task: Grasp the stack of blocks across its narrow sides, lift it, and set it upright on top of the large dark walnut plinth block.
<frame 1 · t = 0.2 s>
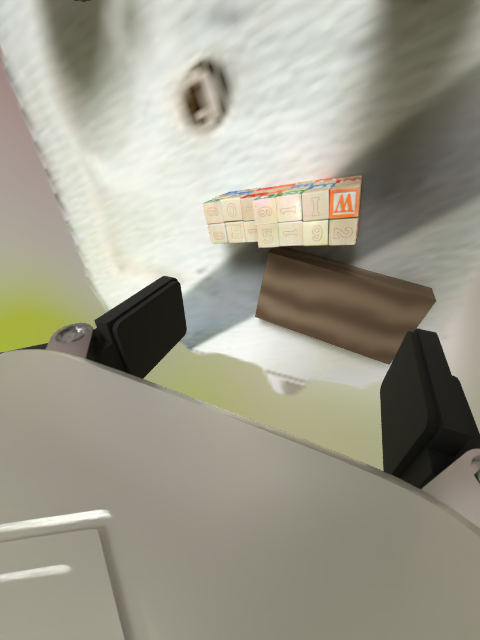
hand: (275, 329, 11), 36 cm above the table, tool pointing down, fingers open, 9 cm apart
plinth: (333, 299, 47), on the table
stack of blocks: (289, 204, 42), on the table
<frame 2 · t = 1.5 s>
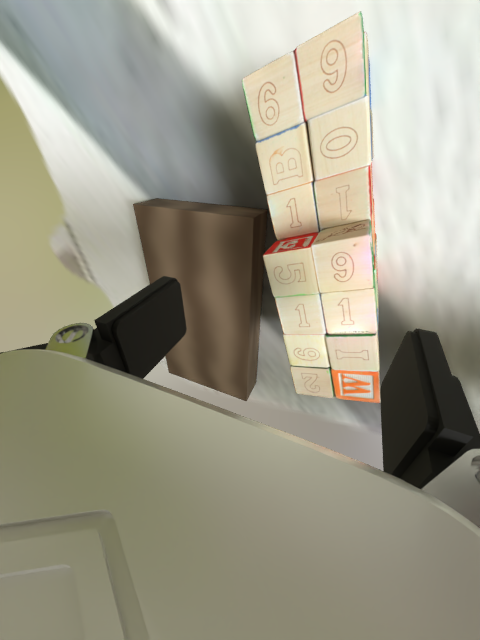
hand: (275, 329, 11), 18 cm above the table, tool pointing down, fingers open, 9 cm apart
plinth: (213, 303, 36), on the table
stack of blocks: (338, 222, 24), on the table
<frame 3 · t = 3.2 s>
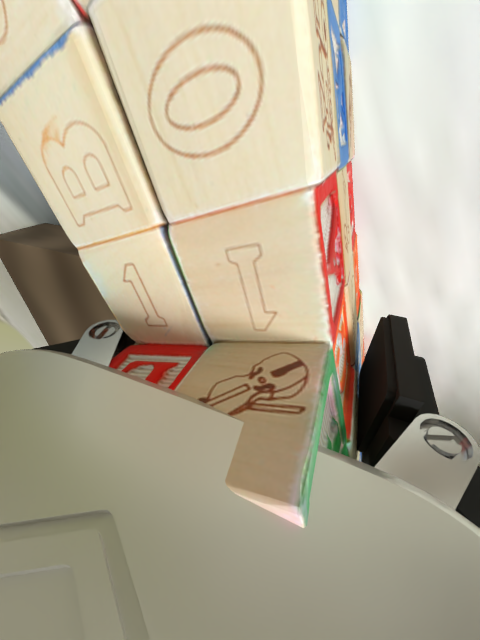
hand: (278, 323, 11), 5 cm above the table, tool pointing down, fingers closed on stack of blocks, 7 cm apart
plinth: (147, 363, 26), on the table
stack of blocks: (299, 266, 14), on the table, touching gripper
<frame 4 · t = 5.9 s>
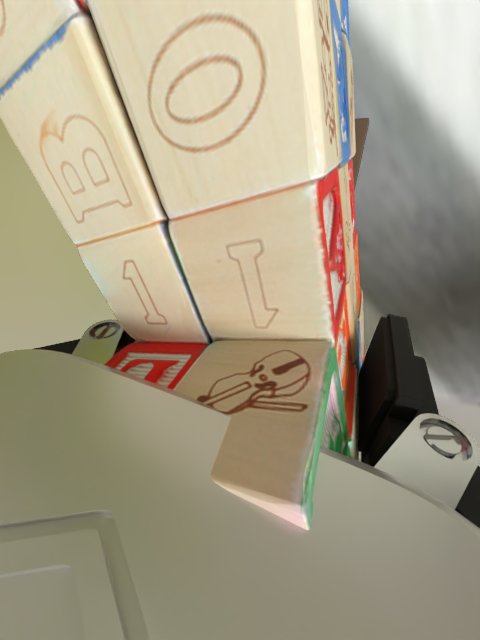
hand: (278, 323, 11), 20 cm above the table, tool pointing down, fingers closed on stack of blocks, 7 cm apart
plinth: (278, 258, 31), on the table
stack of blocks: (299, 265, 14), point 16 cm above the table, touching gripper
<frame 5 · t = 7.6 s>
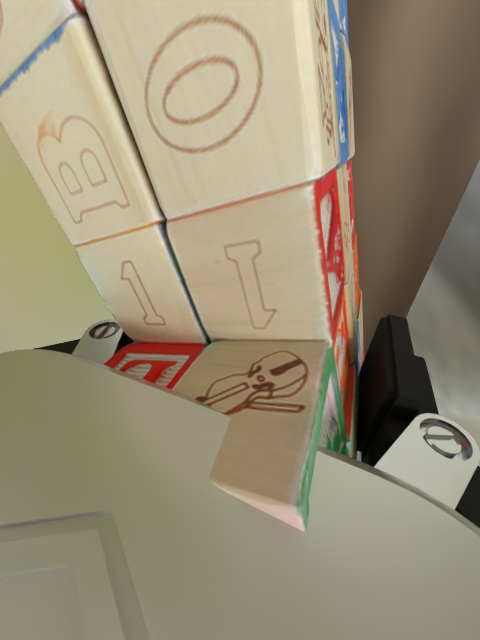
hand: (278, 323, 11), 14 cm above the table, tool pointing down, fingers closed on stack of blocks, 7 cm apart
plinth: (324, 235, 21), on the table
stack of blocks: (298, 265, 14), point 9 cm above the table, touching gripper
when the fingers open (9 cm above the table, at t = 8.9 s): stack of blocks stays where it is, resting on plinth.
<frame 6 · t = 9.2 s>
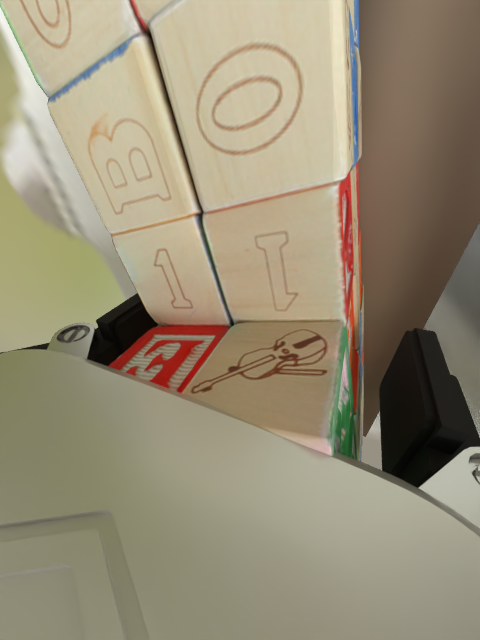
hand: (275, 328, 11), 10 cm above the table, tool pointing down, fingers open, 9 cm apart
plinth: (314, 251, 18), on the table
stack of blocks: (304, 260, 15), point 4 cm above the table, touching plinth
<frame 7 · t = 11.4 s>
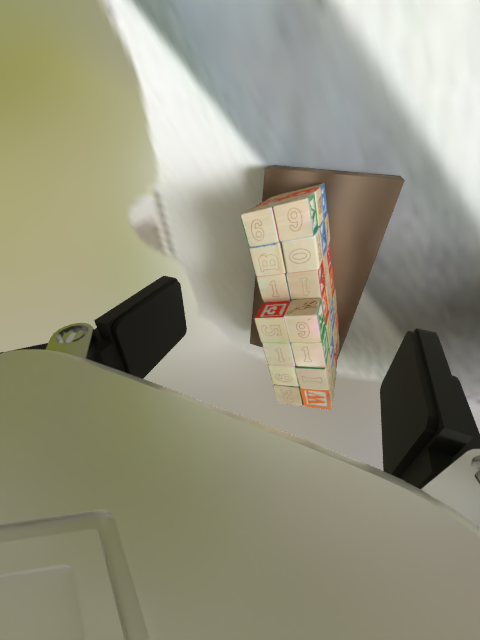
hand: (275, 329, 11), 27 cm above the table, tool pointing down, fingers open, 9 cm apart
plinth: (310, 273, 37), on the table
stack of blocks: (309, 277, 33), point 4 cm above the table, touching plinth
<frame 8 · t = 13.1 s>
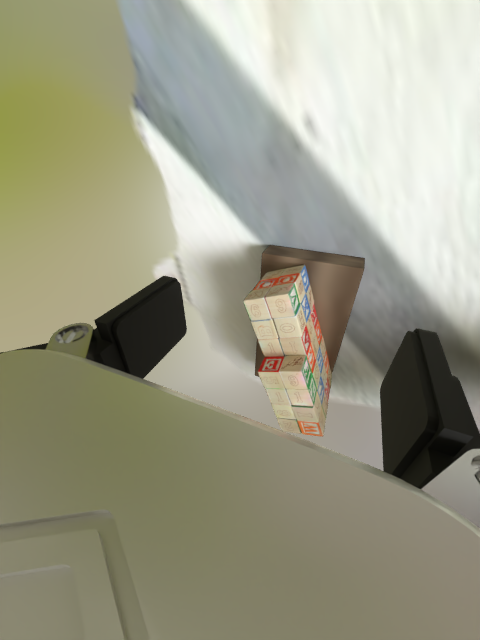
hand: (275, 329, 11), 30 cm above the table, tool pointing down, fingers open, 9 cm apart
plinth: (301, 321, 46), on the table
stack of blocks: (301, 327, 42), point 4 cm above the table, touching plinth
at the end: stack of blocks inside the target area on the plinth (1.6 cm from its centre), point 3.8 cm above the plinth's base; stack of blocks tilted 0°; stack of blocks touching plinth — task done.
